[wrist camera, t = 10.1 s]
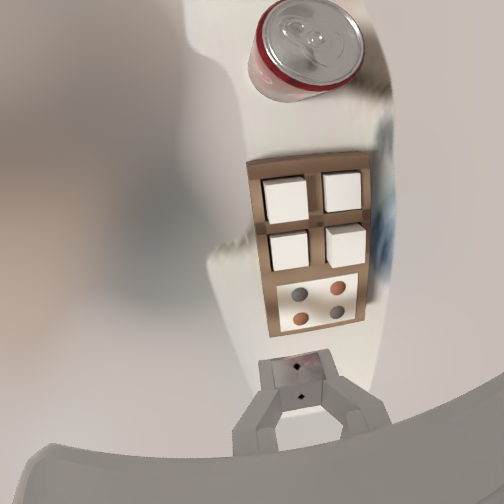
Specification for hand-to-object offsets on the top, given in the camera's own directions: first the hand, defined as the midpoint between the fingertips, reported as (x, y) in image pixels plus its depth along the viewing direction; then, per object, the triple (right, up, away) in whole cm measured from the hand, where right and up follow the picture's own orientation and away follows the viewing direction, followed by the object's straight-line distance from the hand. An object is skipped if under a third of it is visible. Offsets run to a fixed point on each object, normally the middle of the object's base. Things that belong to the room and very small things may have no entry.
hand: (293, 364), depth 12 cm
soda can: (+1, +23, +13) cm, 27 cm away
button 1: (+2, +6, +20) cm, 21 cm away
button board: (+5, +6, +21) cm, 23 cm away
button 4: (+7, +11, +18) cm, 22 cm away
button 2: (+1, +10, +17) cm, 19 cm away
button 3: (+8, +6, +19) cm, 21 cm away
